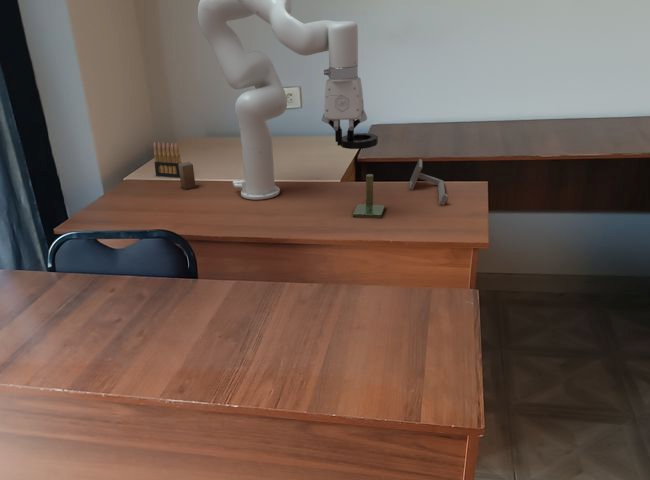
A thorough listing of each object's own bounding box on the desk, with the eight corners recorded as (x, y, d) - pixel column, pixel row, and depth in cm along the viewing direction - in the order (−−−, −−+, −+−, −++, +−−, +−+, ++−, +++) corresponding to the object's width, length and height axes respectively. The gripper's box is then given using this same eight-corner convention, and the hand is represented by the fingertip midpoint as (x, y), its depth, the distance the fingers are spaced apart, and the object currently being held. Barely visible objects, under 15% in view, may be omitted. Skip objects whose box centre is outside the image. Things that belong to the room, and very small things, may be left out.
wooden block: (196, 187, 225) (193, 163, 221) (185, 189, 224) (181, 166, 220) (191, 184, 228) (188, 161, 224) (180, 186, 227) (177, 163, 223)
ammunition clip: (184, 176, 238) (179, 141, 231) (181, 177, 236) (176, 143, 230) (158, 174, 242) (153, 140, 236) (155, 175, 240) (150, 142, 234)
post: (353, 217, 191) (353, 179, 185) (357, 207, 197) (357, 170, 191) (381, 218, 188) (382, 179, 183) (384, 208, 195) (385, 171, 189)
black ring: (337, 149, 181) (337, 142, 180) (344, 139, 189) (344, 133, 188) (374, 148, 178) (374, 142, 177) (379, 139, 186) (379, 132, 185)
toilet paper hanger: (439, 214, 195) (450, 191, 191) (409, 204, 195) (419, 180, 191) (437, 190, 214) (447, 168, 210) (409, 180, 214) (419, 158, 210)
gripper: (310, 77, 175) (313, 148, 184) (371, 74, 170) (371, 147, 179) (317, 72, 181) (319, 141, 190) (376, 69, 176) (375, 140, 186)
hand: (344, 143), depth 185 cm, fingers closed on black ring, 2 cm apart
